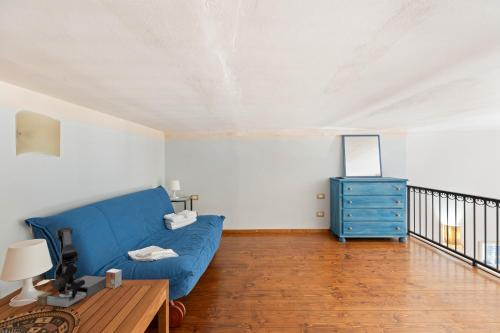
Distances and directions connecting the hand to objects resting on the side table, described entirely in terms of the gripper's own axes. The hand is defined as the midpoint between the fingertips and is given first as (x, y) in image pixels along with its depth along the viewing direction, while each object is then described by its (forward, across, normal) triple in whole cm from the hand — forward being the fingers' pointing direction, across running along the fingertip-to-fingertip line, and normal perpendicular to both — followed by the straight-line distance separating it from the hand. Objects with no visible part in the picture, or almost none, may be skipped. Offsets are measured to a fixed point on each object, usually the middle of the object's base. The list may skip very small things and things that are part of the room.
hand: (67, 297), depth 143 cm
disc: (-1, 0, 0) cm, 1 cm away
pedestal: (+2, -11, -5) cm, 12 cm away
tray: (+2, 0, -1) cm, 2 cm away
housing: (+2, 0, +13) cm, 13 cm away
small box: (+2, +13, +21) cm, 25 cm away
